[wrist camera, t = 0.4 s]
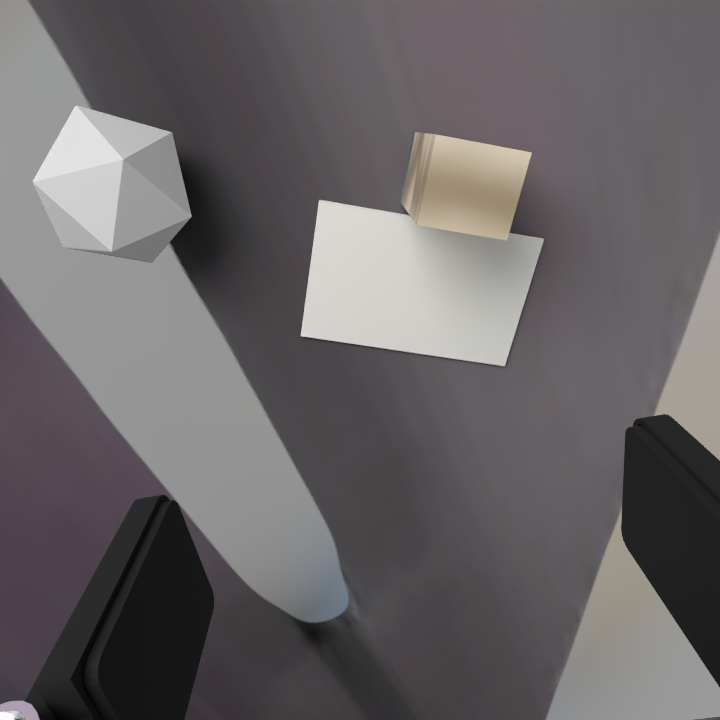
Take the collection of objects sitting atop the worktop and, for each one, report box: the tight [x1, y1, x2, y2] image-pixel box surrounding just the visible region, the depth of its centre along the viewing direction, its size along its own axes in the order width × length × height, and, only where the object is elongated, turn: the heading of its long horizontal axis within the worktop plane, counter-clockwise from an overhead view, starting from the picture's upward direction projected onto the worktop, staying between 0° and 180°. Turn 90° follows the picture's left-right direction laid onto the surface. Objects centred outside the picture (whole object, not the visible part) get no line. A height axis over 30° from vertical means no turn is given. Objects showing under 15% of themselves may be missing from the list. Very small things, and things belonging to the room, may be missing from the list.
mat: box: [301, 200, 544, 366], centre depth 39 cm, size 10×16×1 cm, turn 80°
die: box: [33, 105, 192, 262], centre depth 32 cm, size 8×9×10 cm
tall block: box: [400, 132, 532, 241], centre depth 32 cm, size 4×5×9 cm
